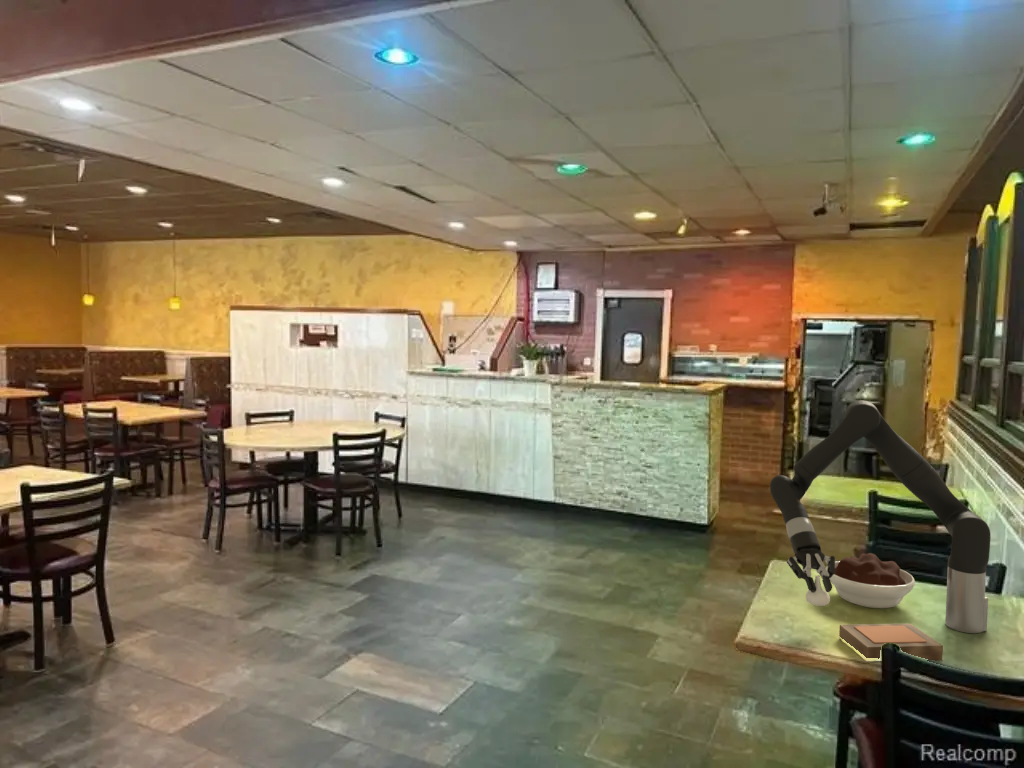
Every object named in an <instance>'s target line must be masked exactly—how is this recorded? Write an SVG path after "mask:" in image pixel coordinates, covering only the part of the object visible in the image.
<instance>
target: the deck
mask: <svg viewBox="0 0 1024 768" xmlns="http://www.w3.org/2000/svg"><path fill="white" fill-rule="evenodd" d="M854 626H905V627H907V628H908V629H910V630H911V631H912V632H914V633H915V634H917V635H918V636H920V637H921V638H923V639H924V640H926V641H927V642H925V643H895V644H897V645H898V646H900V648H901V650H902V651H903V652H906V653H908V654H911V655H914V656H918V657H921V658H925V659H928V660H935V661H934V662H939V661H940V662H943V660H944V659H943V658H944V645H943V644H942V643H940V642H938V641H937V640H936V639H934V638H933V637H931V636H930V635H928V634H927V633H925V632H923V631H922V630H921V629H919V628H918V627H916V626H915V625H913V624H911V623H865V624H863V623H861V624H860V623H858V624H857V623H856V624H839V631H838V632H839V636H840V637H841V638H842V639H844V640H845V641H846V642H847V643H849V644H850V645H851V646H853V647H854V648H855V649H856V650H858V651H859V652H860V653H861V654H863V655H864V656H865V657H866V658H878V659H879V658H880V650H881V646H882V645H883V644H884V643H873V642H872V641H871V640H869V639H868V638H867V637H866V636H864V635H863V634H862V633H860V632H859V631H858V630H857V629H855V628H854ZM839 636H838V637H839Z"/></svg>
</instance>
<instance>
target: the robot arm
mask: <svg viewBox="0 0 1024 768" xmlns="http://www.w3.org/2000/svg"><path fill="white" fill-rule="evenodd" d="M862 438H864V439H866V440H867V441H868V442H869V443H870V445H872V446H873V447H874V449H875V450H876V452H878V455H880V457H881V459H882V460H883V461H884V463H885V464H886V466H887V467H888V469H889V470H890V471H891V473H893V475H894V476H895V477H896V478H897V480H899V481H900V483H902V485H903V486H904V487H905V488H906V489H908V491H909V492H910V493H911V494H912V495H914V496H915V497H916V498H917V499H918V500H920V501H921V502H922V503H924V504H925V506H927V507H928V508H929V509H930V510H931V511H932V512H933V513H934V514H935V516H936V517H937V518H938V519H939V521H940V523H941V524H942V525H943V526H944V528H945V530H946V531H947V532H948V533H949V535H950V536H951V549H950V555H949V556H948V558H947V575H946V579H947V580H946V596H945V597H946V598H945V599H946V600H945V625H946V626H947V627H949V629H953V630H954V631H955V630H956V631H958V632H962V633H967V634H981V633H983V632H986V631H987V630H988V612H989V611H988V610H989V609H988V608H989V598H988V597H987V596H986V579H987V577H986V575H987V566H988V564H989V560H990V550H991V530H990V527H989V525H988V524H987V522H986V521H985V520H984V519H982V518H981V517H980V516H979V515H978V514H976V513H975V512H973V511H972V510H971V509H970V508H969V507H967V506H966V505H965V504H963V502H961V500H959V499H958V498H957V497H956V496H955V494H953V493H952V492H951V490H950V489H949V487H948V486H947V484H946V482H945V481H944V480H943V478H942V477H941V476H940V474H939V473H938V472H937V471H936V469H935V468H934V467H933V466H932V465H931V463H929V462H928V461H927V459H926V458H924V456H923V455H921V453H920V452H918V451H917V449H915V448H914V447H913V446H912V445H911V444H909V443H908V442H907V441H906V440H905V439H904V438H902V436H900V435H899V434H898V433H897V432H896V431H895V430H894V429H893V428H892V427H891V425H890V424H889V423H888V422H887V421H886V419H885V418H884V417H883V416H882V414H881V412H880V411H879V410H878V408H877V407H876V405H874V404H873V403H872V402H870V401H868V400H863V399H862V400H855V401H852V402H851V403H850V404H848V406H847V407H846V410H845V413H844V418H843V419H842V420H841V422H840V423H839V425H838V426H837V427H836V428H835V429H834V430H833V431H832V432H831V433H830V434H829V435H828V436H826V437H825V439H822V441H820V442H819V443H818V444H816V445H814V446H813V447H812V448H811V449H809V450H808V451H807V452H806V453H805V454H804V455H803V456H802V457H801V458H800V459H799V460H798V461H797V462H796V463H795V464H794V465H793V470H794V473H795V474H794V476H793V477H792V478H789V476H786V475H783V474H781V475H780V474H778V475H776V476H774V477H773V478H771V480H770V483H769V491H770V494H771V496H772V499H773V500H774V502H775V504H776V506H777V507H778V510H780V512H781V514H782V517H783V520H784V524H785V527H786V532H787V536H788V539H789V541H790V544H791V547H792V551H793V554H794V556H790V557H789V558H788V559H787V561H786V564H787V565H788V566H789V567H790V569H791V570H792V572H793V573H794V575H795V576H796V577H797V578H798V580H800V579H803V580H804V581H805V584H806V586H807V589H808V590H810V591H811V592H812V593H814V592H815V591H816V586H815V583H814V582H815V580H814V577H813V576H812V571H811V570H815V571H816V573H817V574H818V575H819V576H820V577H821V578H820V579H822V580H821V581H822V584H823V587H824V590H825V591H826V592H827V593H830V592H831V591H832V589H833V584H832V582H831V581H830V578H831V577H832V576H833V575H834V573H835V562H836V558H835V556H834V555H830V556H827V555H825V553H824V552H823V551H822V549H821V544H820V542H819V541H820V540H819V539H818V536H817V533H816V530H815V528H814V525H813V524H812V521H811V520H810V517H809V514H808V511H807V509H806V507H805V506H804V504H803V503H802V502H801V501H800V500H801V499H802V498H804V496H805V494H806V493H807V491H808V490H809V488H810V486H811V485H812V484H813V481H814V480H816V479H817V478H818V477H819V476H820V475H821V474H822V473H823V472H824V471H825V470H826V469H828V468H829V466H830V465H831V464H833V462H834V461H835V460H836V459H837V458H839V456H841V455H842V454H843V453H844V452H845V451H847V450H848V449H849V448H850V447H851V446H853V445H854V444H856V443H857V442H858V441H860V440H861V439H862ZM824 561H825V563H824ZM800 565H801V566H800ZM801 567H802V568H801ZM826 567H827V570H826Z"/></svg>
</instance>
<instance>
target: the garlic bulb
mask: <svg viewBox="0 0 1024 768" xmlns="http://www.w3.org/2000/svg"><path fill="white" fill-rule="evenodd" d="M814 577H815V578H814V583H815V586H816V591H815V592H814V593H812V592H811V591H810V590H809V589H808V590H807V591H806V593H805V599H806V602H808V604H810V605H813V606H817V607H818V606H819V607H820V606H821V607H824V606H828V605H829V603H830V602H831V597H830V594H829V592H826V590H825V589H823V588H822V585H821V578H820V577H821V576H820V574H818V575H815V576H814Z"/></svg>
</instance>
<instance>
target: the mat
mask: <svg viewBox="0 0 1024 768" xmlns="http://www.w3.org/2000/svg"><path fill="white" fill-rule="evenodd" d="M854 628H855V629H857V630H858V631H859V632H860V633H862V634H863V635H864V636H866V637H867V638H868V639H869V640H871V641H872V642H873V643H888V642H889V643H925V642H927V641H926V640H924V639H923V638H921V637H920V636H918V635H917V634H915V633H914V632H912V631H911V630H910V629H908V628H907V627H905V626H854Z"/></svg>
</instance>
